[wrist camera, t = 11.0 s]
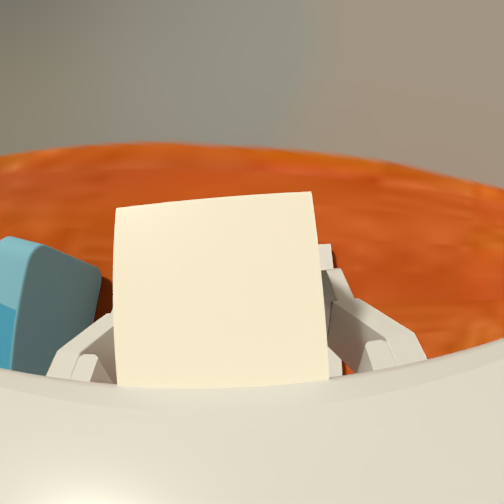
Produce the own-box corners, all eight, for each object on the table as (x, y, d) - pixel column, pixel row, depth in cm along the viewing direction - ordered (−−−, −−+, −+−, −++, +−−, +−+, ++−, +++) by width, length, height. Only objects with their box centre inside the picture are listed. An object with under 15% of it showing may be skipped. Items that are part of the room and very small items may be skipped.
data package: (71, 261, 30) (-2, 230, 19) (105, 269, 30) (34, 239, 18) (53, 367, 28) (-24, 376, 16) (85, 381, 28) (10, 399, 16)
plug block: (204, 359, 15) (119, 405, 5) (200, 279, 16) (116, 208, 6) (286, 354, 15) (330, 400, 5) (280, 273, 16) (311, 191, 6)
